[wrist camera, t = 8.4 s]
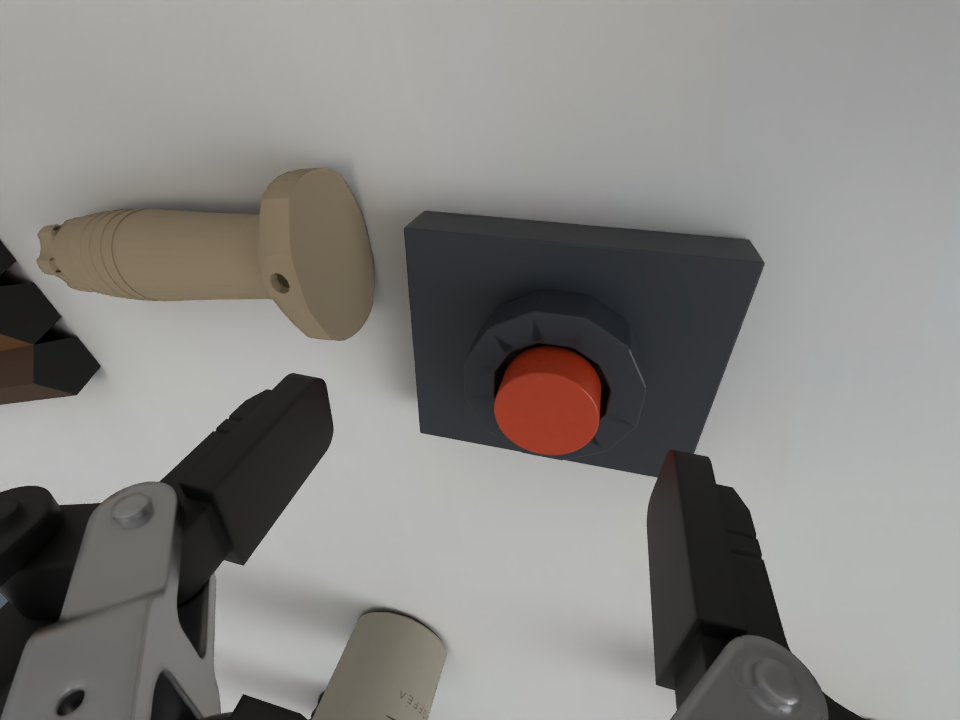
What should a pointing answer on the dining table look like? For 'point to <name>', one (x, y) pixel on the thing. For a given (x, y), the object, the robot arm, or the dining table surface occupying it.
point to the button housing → (576, 325)
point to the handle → (232, 254)
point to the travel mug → (384, 671)
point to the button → (549, 401)
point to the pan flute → (36, 347)
